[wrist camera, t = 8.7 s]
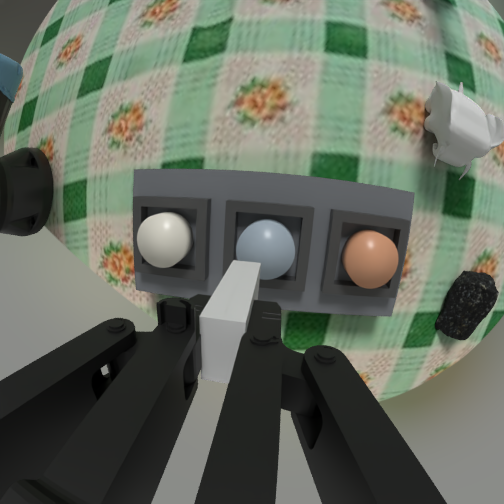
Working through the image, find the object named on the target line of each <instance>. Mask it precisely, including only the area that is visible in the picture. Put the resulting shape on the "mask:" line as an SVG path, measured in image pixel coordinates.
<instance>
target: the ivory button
mask: <svg viewBox="0 0 504 504" xmlns="http://www.w3.org/2000/svg"><path fill="white" fill-rule="evenodd" d="M137 244H138V248H139V251H140V253H141V255H142V256H143V258H144V259H145V260H146V261H147V262H148V263H150V264H151V265H153V266H156V267H159V268H167V267H171V266H173V265H175V264H176V263H177V262H179V261H180V260H181V259H183V258H184V257H185V256H186V255H187V254H188V253H189V252H190V250H191V248H192V245H193V231H192V228H191V226H190V224H189V222H188V221H187V220H186V219H185V218H184V217H183V216H182V215H180V214H178V213H175V212H163V213H160V214H156V215H153V216H150V217H148V218H147V219H145V220H144V221H143V223H142V224H141V225H140V227H139V230H138V234H137Z"/></svg>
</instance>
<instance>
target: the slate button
mask: <svg viewBox="0 0 504 504" xmlns="http://www.w3.org/2000/svg"><path fill="white" fill-rule="evenodd" d="M236 255H237V259H238V261H247V262H257V263H261V268H260V279H263V280H268V279H274V278H277V277H279V276H281V275H283V274H284V273H285V272H286V271H287V270H288V269H289V268H290V267H291V265H292V263H293V260H294V257H295V246H294V241H293V237H292V234H291V232H290V231H289V229H288V228H287V227H286V226H285V225H284V224H282V223H281V222H279V221H277V220H273V219H260V220H257V221H255V222H253V223H251V224H250V225H249V226H248V227H247V228H246V229H245V230H244V232H243V233H242V234H241V236H240V237H239V239H238V242H237V246H236Z"/></svg>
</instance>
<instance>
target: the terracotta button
mask: <svg viewBox="0 0 504 504" xmlns="http://www.w3.org/2000/svg"><path fill="white" fill-rule="evenodd" d="M342 264H343V267H344V269H345V270H346V272H347V273H348V275H349V276H350V278H351V279H352V280H353V281H354V282H355V283H356V284H357V285H358V286H360V287H363V288H367V289H373V288H378V287H380V286H382V285H384V284H386V283H387V282H388V281H389V280H390V279H391V278H392V277H393V275H394V273H395V271H396V269H397V266H398V252H397V249H396V246H395V245H394V243H393V242H392V241H391V240H390V239H389V238H387V237H386V236H384V235H382V234H380V233H378V232H376V231H374V230H368V229H366V230H360V231H358V232H356V233H354V234H353V235H351V236H350V237H349V238H348V240H347V241H346V242H345V244H344V246H343V249H342Z"/></svg>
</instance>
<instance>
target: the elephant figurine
mask: <svg viewBox="0 0 504 504" xmlns="http://www.w3.org/2000/svg"><path fill="white" fill-rule="evenodd" d="M460 83H461V85H460V87H459V90H458V92H457V91H455V90H452V89H450V88H449V87H448V86H447V85H446V84H444V83H441V82H437V81H436V86H435V87H434V89H433V91H432V93H431V95H430V96H429V98H428V99H427V101H426V104H425V108H426V110H427V112H429V113H430V115H429V116H428V117H427V118H426V119H425V122H424V127H425V129H426V130H427V131H429V132H431V133H434V134H435V136H436V138H437V141H438V144H437V143H434V144H433V155H434V156H435V157H436V159H435V162H434V167H435V164H436V161H437V159H439V160H441V161H443V162H445V163H448V164H450V165H452V166H455V167H462V166H464V165H466V168H465V170H464V172H463V174H462V175H461V177H460V179H461V178H462V177H463V176H464V175H465V174H466V173H467V172H468V170H469V169H470V168H471V161H472V160H473V159H474V158H480V157H483V156H484V155H486V154H487V153H488V152H489V150H491V149H492V148H494V147H497V146H499V145H500V144H501V143H502V142H503V140H504V122H503V121H502V120H501V119H500V118H499V117H495V116H493V115H492V114H487V115H486V116H485V113H484V112H483V110H482V109H481V108H480V107H479V106H478V105H477V104H476V103H475V102H474V101H472V100H471V99H470V98H468V97H466V96H465V95H463V83H462V82H460ZM460 179H459V180H460Z"/></svg>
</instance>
